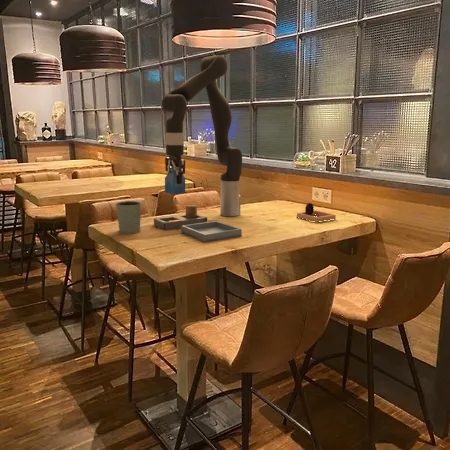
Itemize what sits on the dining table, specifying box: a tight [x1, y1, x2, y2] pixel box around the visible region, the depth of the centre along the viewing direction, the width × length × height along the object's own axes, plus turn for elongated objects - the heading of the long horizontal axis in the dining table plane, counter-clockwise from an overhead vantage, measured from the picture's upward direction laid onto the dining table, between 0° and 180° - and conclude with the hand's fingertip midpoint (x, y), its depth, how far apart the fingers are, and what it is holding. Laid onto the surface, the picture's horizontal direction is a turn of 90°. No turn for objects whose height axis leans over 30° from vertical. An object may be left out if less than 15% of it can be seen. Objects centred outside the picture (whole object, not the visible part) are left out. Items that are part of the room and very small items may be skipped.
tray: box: [180, 220, 243, 243], centre depth 191 cm, size 18×18×3 cm
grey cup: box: [115, 200, 142, 235], centre depth 193 cm, size 10×10×12 cm
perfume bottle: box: [164, 165, 186, 195], centre depth 198 cm, size 6×6×12 cm
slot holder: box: [153, 213, 208, 231], centre depth 207 cm, size 22×10×3 cm, turn 126°
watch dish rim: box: [296, 209, 337, 222], centre depth 224 cm, size 13×13×2 cm
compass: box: [304, 202, 321, 217], centre depth 225 cm, size 8×8×7 cm
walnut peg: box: [185, 204, 198, 219], centre depth 210 cm, size 5×5×8 cm
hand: (175, 182), depth 198 cm, fingers closed on perfume bottle, 6 cm apart
